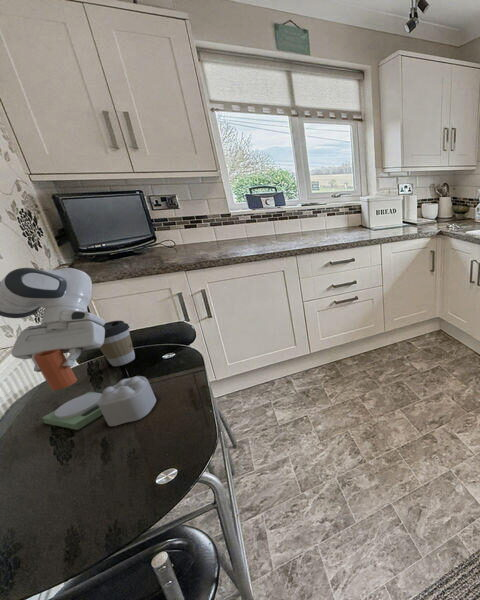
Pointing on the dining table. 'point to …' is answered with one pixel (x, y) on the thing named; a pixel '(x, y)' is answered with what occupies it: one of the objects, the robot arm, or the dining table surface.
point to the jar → (55, 369)
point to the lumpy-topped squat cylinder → (127, 401)
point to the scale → (76, 412)
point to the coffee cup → (117, 343)
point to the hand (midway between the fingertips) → (53, 368)
